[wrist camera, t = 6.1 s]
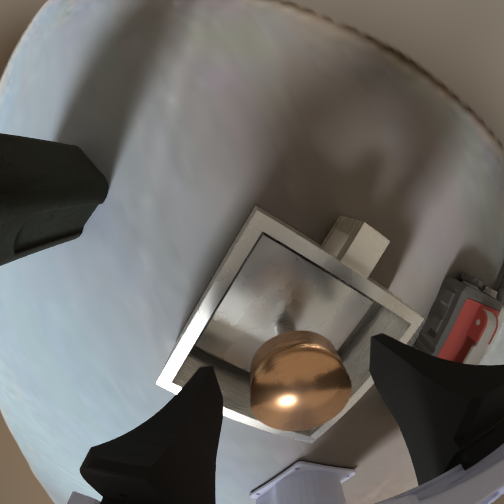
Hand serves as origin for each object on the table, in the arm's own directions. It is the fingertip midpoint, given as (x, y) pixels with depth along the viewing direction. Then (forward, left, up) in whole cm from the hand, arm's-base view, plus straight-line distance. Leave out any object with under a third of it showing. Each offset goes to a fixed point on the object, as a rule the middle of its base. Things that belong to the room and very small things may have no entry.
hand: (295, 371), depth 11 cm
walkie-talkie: (+7, -14, -6) cm, 16 cm away
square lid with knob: (0, 0, -5) cm, 5 cm away
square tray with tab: (0, 0, -5) cm, 5 cm away
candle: (0, +16, -6) cm, 17 cm away
